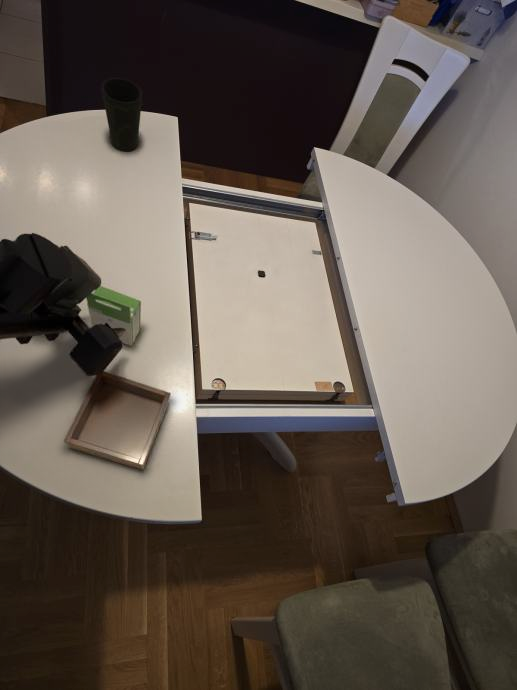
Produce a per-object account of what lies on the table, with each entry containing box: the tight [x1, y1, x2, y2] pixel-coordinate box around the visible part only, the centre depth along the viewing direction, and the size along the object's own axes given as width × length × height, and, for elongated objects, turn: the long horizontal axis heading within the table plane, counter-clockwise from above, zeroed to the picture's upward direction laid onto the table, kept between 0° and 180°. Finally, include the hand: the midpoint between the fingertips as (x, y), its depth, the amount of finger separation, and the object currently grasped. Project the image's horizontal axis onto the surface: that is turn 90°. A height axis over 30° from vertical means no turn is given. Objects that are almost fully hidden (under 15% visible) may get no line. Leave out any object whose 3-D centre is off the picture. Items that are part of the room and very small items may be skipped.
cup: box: [101, 77, 143, 153], centre depth 82 cm, size 8×8×12 cm
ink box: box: [85, 285, 142, 347], centre depth 62 cm, size 7×4×13 cm, turn 74°
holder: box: [63, 370, 171, 471], centre depth 60 cm, size 11×11×5 cm
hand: (104, 310), depth 59 cm, fingers open, 9 cm apart
